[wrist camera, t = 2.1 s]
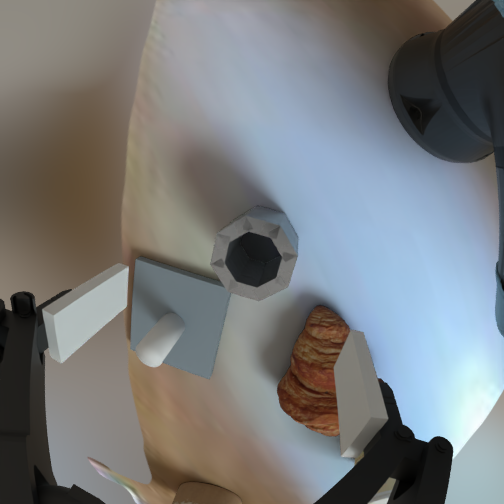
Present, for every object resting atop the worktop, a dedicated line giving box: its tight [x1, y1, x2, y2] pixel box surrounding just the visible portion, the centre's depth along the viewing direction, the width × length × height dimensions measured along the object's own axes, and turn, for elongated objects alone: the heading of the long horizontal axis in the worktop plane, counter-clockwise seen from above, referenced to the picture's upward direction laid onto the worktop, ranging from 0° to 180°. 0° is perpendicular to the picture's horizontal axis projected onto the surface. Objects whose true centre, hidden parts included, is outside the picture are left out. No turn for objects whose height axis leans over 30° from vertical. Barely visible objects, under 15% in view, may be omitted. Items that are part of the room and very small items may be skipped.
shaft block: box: [131, 256, 231, 379], centre depth 32 cm, size 14×12×8 cm
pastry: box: [277, 305, 384, 436], centre depth 32 cm, size 17×15×8 cm
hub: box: [210, 206, 298, 301], centre depth 28 cm, size 7×7×7 cm
